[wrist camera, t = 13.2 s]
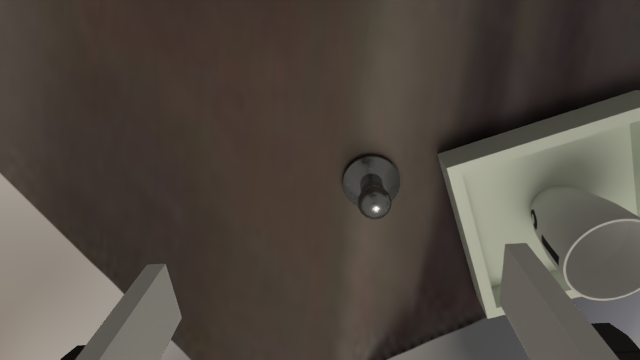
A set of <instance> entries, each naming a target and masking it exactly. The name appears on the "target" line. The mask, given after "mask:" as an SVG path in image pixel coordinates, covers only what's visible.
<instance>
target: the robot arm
mask: <svg viewBox="0 0 640 360" xmlns="http://www.w3.org/2000/svg"><path fill="white" fill-rule="evenodd" d="M499 303H500V305H501V307H502V309H503V311H504V313H505V314H506V316H507V318H508V320H509V322H510V324H511V326H512V327H513V329H514V331H515V333H516V335H517V337H518V339H519V340H520V342H521V344H522V346H523V348H524V350H525V352H526V353H527V355H528V357H529V359H530V360H640V349H639V348H638V347H637V346H636V344H635V343H634V342H633V341H632V340H631V339H630V338H629V337H628V336H627V335H626V334H624V333H623V332H622V331H620V330H619V329H617V328H616V327H614V326H613V325H611V324H610V323H595V324H590V322H589V321H588V320H587V318H586V317H585V316H584V315H583V314H582V312H581V311H580V310H579V308H578V307H577V306H576V305H575V303H574V302H573V301H572V300H571V298H570V297H569V296H568V295H567V293H566V292H565V291H564V290H563V288H562V287H561V286H560V285H559V283H558V282H557V281H556V279H555V278H554V277H553V276H552V274H551V273H550V272H549V271H548V269H547V268H546V267H545V266H544V264H543V263H542V262H541V261H540V259H539V258H538V257H537V256H536V254H535V253H534V252H533V251H532V249H531V248H530V247H529V246H528V244H527V243H515V244H505V249H504V260H503V270H502V280H501V291H500V301H499ZM181 318H182V317H181V314H180V310H179V307H178V304H177V300H176V297H175V294H174V291H173V287H172V284H171V281H170V277H169V274H168V271H167V267H166V264H153V265H146V267H145V268H144V269H143V271H142V272H141V273H140V275H139V276H138V277H137V279H136V280H135V281H134V283H133V284H132V285H131V287H130V288H129V289H128V291H127V292H126V293H125V295H124V296H123V297H122V298H121V300H120V301H119V303H118V304H117V305H116V306H115V308H114V309H113V310H112V312H111V313H110V314H109V316H108V317H107V318H106V320H105V321H104V322H103V324H102V325H101V326H100V328H99V329H98V330H97V332H96V333H95V334H94V336H93V337H92V338H91V339H90V341H89V342H88V343H87V345H81V346H76V347H75V348H74V349H73V350H71V351H70V352H69V353H68V354H66V355H65V356H64V357H63V358H61V360H160V359H161V357H162V355H163V353H164V351H165V349H166V347H167V345H168V343H169V341H170V339H171V337H172V335H173V334H174V332H175V330H176V328H177V326H178V324H179V322H180V320H181Z"/></svg>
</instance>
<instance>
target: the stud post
mask: <svg viewBox="0 0 640 360" xmlns="http://www.w3.org/2000/svg"><path fill="white" fill-rule="evenodd" d="M399 186H400V178H399V174H398V172H397V169H396V167H395V166H394V165H393V163H392V162H390V161H389V160H388V159H386V158H384V157H382V156H379V155H365V156H361V157H359V158H357V159H355V160H354V161H352V162H351V163H350V164H349V166H348V167H347V168H346V170H345V172H344V176H343V189H344V192H345V195H346V196H347V198H348V199H349V200H350V201H351V202H352V203H353V204H355V205H356V206H358V207H359V210H360V211H361V213H362V214H363V215H364V216H365V217H367V218H370V219H380V218H382V217H384V216H385V215H387V213H388V212H389V211H390V208H391V203H392V202H391V201H392V200H393V199H394V198H395V196H396V195H397V193H398V190H399Z"/></svg>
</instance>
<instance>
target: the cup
mask: <svg viewBox="0 0 640 360" xmlns="http://www.w3.org/2000/svg"><path fill="white" fill-rule="evenodd" d="M530 215H531V219H532V223H533V227H534V231H535V233H536V235H537V237H538V239H539V241H540V243H541V245H542V247H543V249H544V251H545V253H546V255H547V257H548V258H549V259H550V261H551V262H552V264H553V265H554V266H555V268H556V269H557V271H558V272H559V273H560V275H561V276H562V278H563V279H564V280H565V282H566V283H567V285H568V286H569V287H570V288H571V289H572V290H573V291H574V292H575V293H577V294H578V295H580V296H582V297H585V298H588V299H592V300H614V299H618V298H622V297H626V296H628V295H631V294H633V293H635V292H637V291H639V290H640V217H638V216H637V215H635V214H633V213H631V212H630V211H628V210H626V209H625V208H623V207H621V206H619V205H618V204H616V203H614V202H612V201H609V200H607V199H604V198H602V197H600V196H597V195H595V194H593V193H590V192H588V191H585V190H581V189H576V188H571V187H567V186H553V187H549V188H547V189H545V190H543V191H542V192H540V193H539V194H538V195H537V196H536V197H535V198H534V200H533V202H532V204H531V207H530Z"/></svg>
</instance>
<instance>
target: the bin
mask: <svg viewBox="0 0 640 360" xmlns="http://www.w3.org/2000/svg"><path fill="white" fill-rule="evenodd" d="M437 155H438V159H439V162H440V166H441V170H442V173H443V177H444V180H445V184H446V187H447V191H448V195H449V198H450V202H451V205H452V209H453V213H454V216H455V220H456V223H457V227H458V231H459V234H460V238H461V241H462V245H463V249H464V252H465V256H466V259H467V263H468V266H469V270H470V274H471V277H472V281H473V284H474V288H475V292H476V295H477V297H478V299H479V301H480V304H481V306H482V308H483V310H484V312H485V314H486V316H487V318H493V317H497V316H501V315H506V314H505V313H504V311H503V309H502V307H501V305H500V303H499V301H500V291H501V280H502V270H503V260H504V249H505V244H515V243H527V244H528V246H529V247H530V248H531V249H532V251H533V252H534V253H535V254H536V256H537V257H538V258H539V259H540V261H541V262H542V263H543V264H544V266H545V267H546V268H547V269H548V271H549V272H550V273H551V274H552V276H553V277H554V278H555V279H556V281H557V282H558V283H559V285H560V286H561V287H562V288H563V290H564V291H565V292H566V293H567V295H568V296H569V297H570V298H571V299H572V298H576V297H580V295H578V294H577V293H575V292H574V291H573V290H572V289H571V288H570V287H569V286H568V285H567V283H566V282H565V280H564V279H563V278H562V276H561V275H560V273H559V272H558V271H557V269H556V268H555V266H554V265H553V264H552V262H551V261H550V259H549V258H548V257H547V255H546V253H545V251H544V249H543V247H542V245H541V243H540V241H539V239H538V237H537V235H536V233H535V231H534V227H533V223H532V219H531V215H530V207H531V204H532V202H533V200H534V198H535V197H536V196H537V195H538V194H539V193H540V192H542V191H543V190H545V189H547V188H549V187H553V186H567V187H571V188H576V189H581V190H585V191H588V192H590V193H593V194H595V195H597V196H600V197H602V198H604V199H607V200H609V201H612V202H614V203H616V204H618V205H619V206H621V207H623V208H625V209H626V210H628V211H630V212H631V213H633V214H635V215H637V216H638V217H640V91H639V90H635V91H632V92H628V93H625V94H622V95H619V96H616V97H613V98H610V99H607V100H604V101H601V102H597V103H594V104H591V105H588V106H585V107H582V108H579V109H576V110H573V111H569V112H566V113H563V114H560V115H557V116H554V117H551V118H548V119H545V120H542V121H538V122H535V123H532V124H529V125H526V126H523V127H520V128H517V129H514V130H511V131H507V132H504V133H501V134H498V135H495V136H492V137H489V138H486V139H483V140H479V141H476V142H473V143H470V144H467V145H464V146H461V147H458V148H455V149H452V150H448V151H445V152H442V153H439V154H437Z"/></svg>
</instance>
